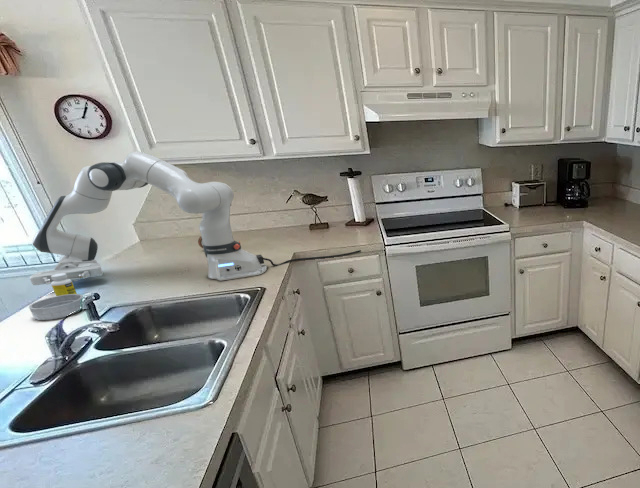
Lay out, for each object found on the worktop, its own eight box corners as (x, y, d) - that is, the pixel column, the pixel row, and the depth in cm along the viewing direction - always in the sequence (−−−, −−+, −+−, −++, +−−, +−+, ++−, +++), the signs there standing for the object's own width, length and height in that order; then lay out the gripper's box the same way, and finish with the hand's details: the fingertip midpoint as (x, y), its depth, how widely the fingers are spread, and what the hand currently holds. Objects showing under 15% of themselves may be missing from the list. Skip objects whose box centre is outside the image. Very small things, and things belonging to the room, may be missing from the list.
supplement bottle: (73, 301, 154) (62, 276, 150) (55, 302, 152) (43, 278, 148) (81, 295, 158) (71, 271, 155) (64, 297, 157) (53, 273, 153)
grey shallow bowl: (95, 303, 151) (90, 292, 150) (75, 317, 140) (70, 305, 138) (49, 308, 147) (44, 296, 146) (24, 323, 136) (18, 311, 134)
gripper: (30, 268, 162) (22, 277, 152) (100, 258, 173) (97, 266, 163) (37, 283, 164) (30, 293, 154) (105, 272, 176) (103, 281, 166)
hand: (65, 279), depth 159 cm, fingers open, 8 cm apart
